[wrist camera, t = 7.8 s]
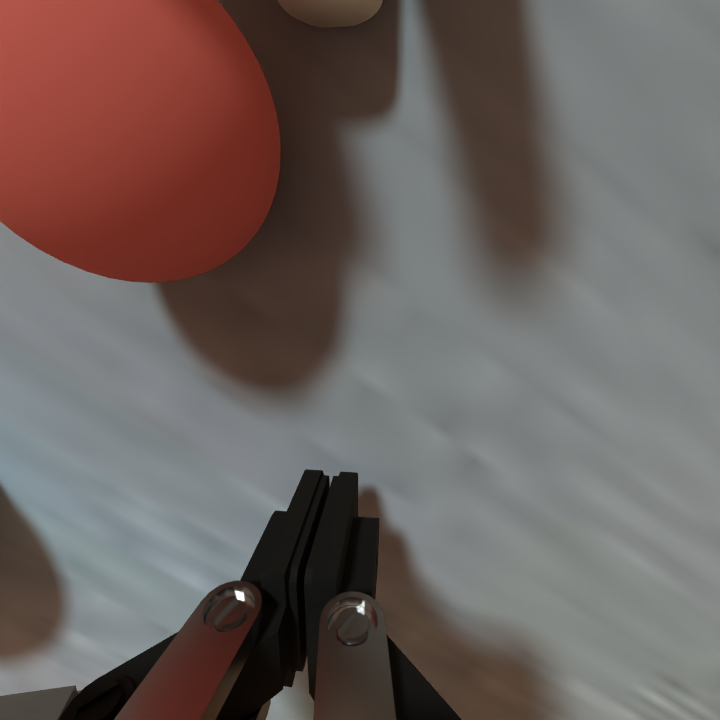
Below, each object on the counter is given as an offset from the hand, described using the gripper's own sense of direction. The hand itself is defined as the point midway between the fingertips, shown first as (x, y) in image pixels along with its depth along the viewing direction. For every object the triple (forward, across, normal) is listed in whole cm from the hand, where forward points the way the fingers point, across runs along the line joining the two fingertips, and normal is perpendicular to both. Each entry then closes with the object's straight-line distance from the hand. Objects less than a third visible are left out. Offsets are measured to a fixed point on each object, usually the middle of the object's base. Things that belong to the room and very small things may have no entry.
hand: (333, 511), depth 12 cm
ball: (-2, +4, -10) cm, 11 cm away
